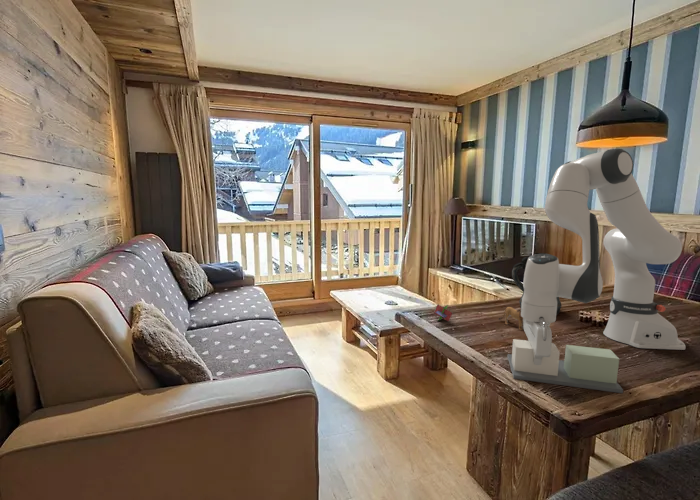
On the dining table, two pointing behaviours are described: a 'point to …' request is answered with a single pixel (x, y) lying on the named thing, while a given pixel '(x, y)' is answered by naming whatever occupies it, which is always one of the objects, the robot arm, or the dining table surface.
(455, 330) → the dining table surface
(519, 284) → the beer stein
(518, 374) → the slate board
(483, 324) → the dining table surface
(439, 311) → the geometric puzzle
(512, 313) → the lion figurine
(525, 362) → the beige eraser-shaped brick
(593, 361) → the pale green prism
